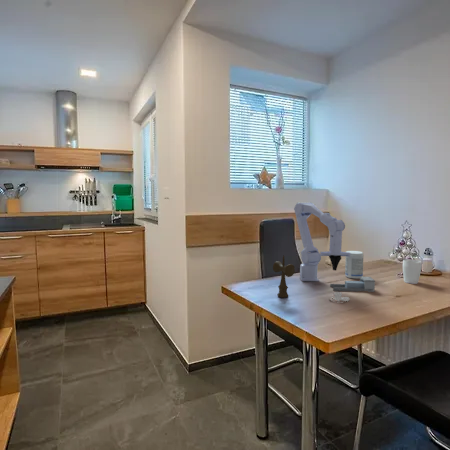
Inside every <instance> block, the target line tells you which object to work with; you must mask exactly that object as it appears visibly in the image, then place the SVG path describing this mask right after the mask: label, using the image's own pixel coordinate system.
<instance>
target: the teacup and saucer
mask: <svg viewBox="0 0 450 450" xmlns="http://www.w3.org/2000/svg"><path fill="white" fill-rule="evenodd" d="M333 295H334V297H335V298H333ZM342 295H343V294H342V291H334V292H333V293H332V295H331V298H333V299H332V300H334V301H335V300H337V301H336V302H344V301H347V302H348V301H350V299H351V298H350V297H349V296H342ZM340 300H341V301H340Z"/></svg>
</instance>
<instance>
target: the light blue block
mask: <svg viewBox="0 0 450 450" xmlns="http://www.w3.org/2000/svg"><path fill="white" fill-rule="evenodd" d="M344 284H345V287H344V288H364V281H360V280H359V281H358V280H353V281H352V280H345V281H344Z"/></svg>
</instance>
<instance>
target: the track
mask: <svg viewBox="0 0 450 450" xmlns="http://www.w3.org/2000/svg"><path fill="white" fill-rule="evenodd" d="M359 281H364V288H345V283H330V284H329V288H332V291H334V292H358V291H368V292H367V293H370V292H371V293H375V288H376V287H375V285H376V280H375V279H374V278H372V277H371V276H363V277H360V278H359Z"/></svg>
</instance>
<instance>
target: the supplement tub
mask: <svg viewBox="0 0 450 450" xmlns="http://www.w3.org/2000/svg"><path fill="white" fill-rule="evenodd" d="M345 252H350V257H348V256H345V266H344V267H345V269H344V270H345V271H344V275H345V277H346V278H349V279H355V280H360V277H364V251H360V250H346V251H345Z"/></svg>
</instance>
